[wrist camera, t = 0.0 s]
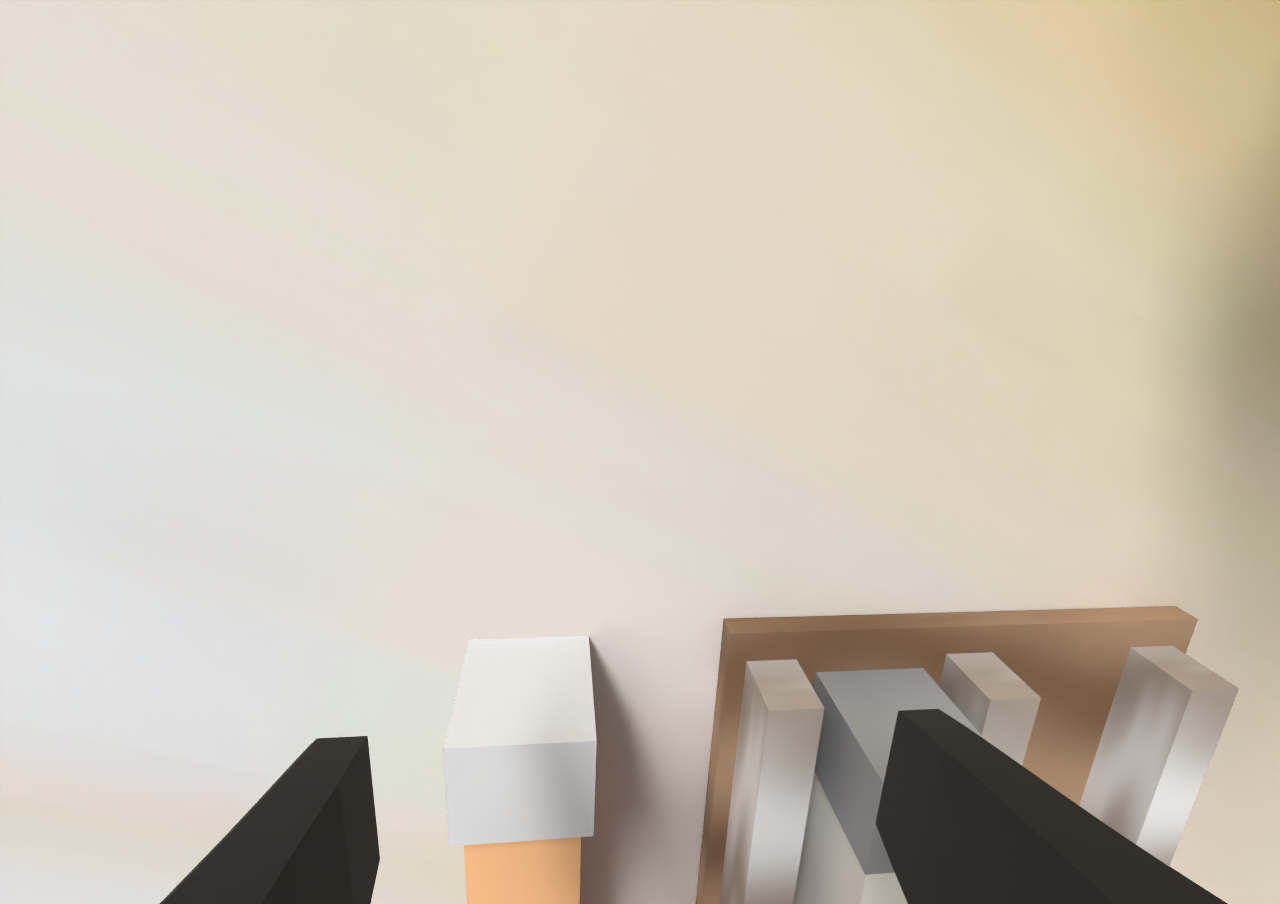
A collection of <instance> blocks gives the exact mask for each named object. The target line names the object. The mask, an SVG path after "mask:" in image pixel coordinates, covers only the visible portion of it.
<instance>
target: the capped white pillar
mask: <svg viewBox="0 0 1280 904" xmlns="http://www.w3.org/2000/svg"><path fill="white" fill-rule="evenodd" d="M814 691H815V692H816V694H817V696H818V698H819V699H820V701H821V703H822V705H823V706H824V714H823V720H822V727H821V733H820V739H819V745H818V752H817V758H816V764H815V770H814V777H813V783H812V789H811V795H810V802H809V808H808V814H807V820H806V826H805V833H804V839H803V845H802V851H801V858H800V864H799V870H798V876H797V883H796V889H795V895H794V901H793V904H908V903H907V901H906V898H905V896H904V894H903V891H902V889H901V886H900V884H899V882H898V879H897V877H896V874H895V872H894V870H893V867H892V865H891V862H890V860H889V857H888V854H887V852H886V849H885V847H884V844H883V841H882V839H881V836H880V834H879V831H878V829H877V826H876V818H877V813H878V808H879V803H880V798H881V793H882V788H883V783H884V778H885V774H886V769H887V764H888V759H889V754H890V749H891V744H892V739H893V734H894V729H895V724H896V719H897V714H898V711H901V710H921V709H940V710H941V711H943V712H944V713H946V714H948V715H949V716H951V717H952V718H954V719H955V720H957V721H958V722H960V723H961V724H963V725H964V726H966V727H967V728H969V729H970V730H972V731H973V732H975V733H976V734H978V735H979V736H981V737H982V735H981V734H980V733H979V732H978V731H977V730H976V728H975V727H974V726H973V725H972V724H971V723H970V722H969V720H968V719H967V718H966V717H965V716H964V715H963V713H962V712H961V711H960V710H959V709H958V708H957V707H956V705H955V704H954V703H953V702H952V701H951V700H950V698H949V697H948V696H947V695H946V694H945V693H944V692H943V690H942V689H941V688H940V687H939V686H938V685H937V683H936V682H935V681H934V680H933V679H932V678H931V676H930V675H929V674H928V673H927V672H926V671H925V670H924V668H911V669H886V670H860V671H834V672H816V676H815V682H814ZM982 738H983V737H982ZM983 739H984V738H983Z"/></svg>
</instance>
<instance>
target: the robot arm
mask: <svg viewBox="0 0 1280 904" xmlns="http://www.w3.org/2000/svg"><path fill="white" fill-rule="evenodd" d="M876 826H877V829H878V831H879V834H880V836H881V839H882V841H883V844H884V847H885V849H886V852H887V854H888V857H889V860H890V862H891V865H892V867H893V870H894V872H895V874H896V877H897V879H898V882H899V884H900V886H901V889H902V891H903V894H904V896H905V898H906V901H907V903H908V904H1227V903H1225V902H1224V901H1222V900H1221V899H1219V898H1218V897H1216V896H1215V895H1213V894H1211V893H1210V892H1208V891H1207V890H1205V889H1204V888H1202V887H1201V886H1199V885H1197V884H1196V883H1194V882H1193V881H1191V880H1190V879H1188V878H1186V877H1185V876H1183V875H1182V874H1180V873H1179V872H1177V871H1176V870H1174V869H1172V868H1171V867H1169V866H1168V865H1166V864H1165V863H1163V862H1162V861H1160V860H1158V859H1157V858H1155V857H1154V856H1152V855H1151V854H1149V853H1148V852H1146V851H1145V850H1143V849H1142V848H1141V847H1139V846H1138V845H1136V844H1135V843H1133V842H1132V841H1130V840H1129V839H1127V838H1126V837H1124V836H1123V835H1121V834H1120V833H1118V832H1117V831H1115V830H1114V829H1112V828H1111V827H1109V826H1108V825H1106V824H1105V823H1103V822H1102V821H1101V820H1099V819H1098V818H1096V817H1095V816H1093V815H1092V814H1090V813H1089V812H1088V811H1086V810H1085V809H1083V808H1082V807H1080V806H1079V805H1077V804H1076V803H1074V802H1073V801H1072V800H1070V799H1069V798H1067V797H1066V796H1064V795H1063V794H1062V793H1060V792H1059V791H1057V790H1056V789H1054V788H1053V787H1052V786H1050V785H1049V784H1047V783H1046V782H1045V781H1043V780H1042V779H1040V778H1039V777H1037V776H1036V775H1035V774H1033V773H1032V772H1030V771H1029V770H1028V769H1026V768H1025V767H1023V766H1022V765H1020V764H1019V763H1018V762H1016V761H1015V760H1013V759H1012V758H1011V757H1009V756H1008V755H1006V754H1005V753H1003V752H1002V751H1001V750H999V749H998V748H996V747H995V746H993V745H992V744H991V743H989V742H988V741H986V740H985V739H983V738H982V737H981V736H979V735H978V734H976V733H975V732H973V731H972V730H970V729H969V728H967V727H966V726H964V725H963V724H961V723H960V722H958V721H957V720H955V719H954V718H952V717H951V716H949V715H948V714H946V713H944V712H943V711H941V710H940V709H921V710H901V711H898V714H897V719H896V724H895V729H894V734H893V739H892V744H891V749H890V754H889V759H888V764H887V769H886V774H885V778H884V783H883V788H882V793H881V798H880V803H879V808H878V813H877V818H876ZM379 860H380V855H379V846H378V836H377V826H376V816H375V806H374V796H373V787H372V777H371V767H370V757H369V747H368V737H367V736H360V737H339V738H318V739H316V740H315V741H314V742H313V743H312V744H311V745H310V746H309V747H308V748H307V749H306V750H305V751H304V752H303V753H302V754H301V755H300V756H299V757H298V758H297V759H296V760H295V762H294V763H293V764H292V765H291V766H290V767H289V768H288V769H287V770H286V771H285V772H284V773H283V775H282V776H281V777H280V778H279V779H278V780H277V781H276V782H275V783H274V784H273V785H272V786H271V788H270V789H269V790H268V791H267V792H266V793H265V794H264V795H263V796H262V797H261V798H260V799H259V801H258V802H257V803H256V804H255V805H254V806H253V807H252V808H251V809H250V810H249V811H248V812H247V813H246V815H245V816H244V817H243V818H242V819H241V820H240V821H239V822H238V823H237V824H236V825H235V826H234V827H233V828H232V829H231V831H230V832H229V833H228V834H227V835H226V836H225V837H224V838H223V839H222V840H221V841H220V842H219V843H218V844H217V845H216V846H215V847H214V848H213V849H212V850H211V851H210V852H209V854H208V855H207V856H206V857H205V858H204V859H203V860H202V861H201V862H200V863H199V864H198V865H197V866H196V867H195V868H194V869H193V870H192V871H191V872H190V873H189V874H188V875H187V876H186V877H185V878H184V879H183V880H182V881H181V882H180V883H179V884H178V885H177V886H176V888H175V889H174V890H173V891H172V892H171V893H170V894H169V895H168V896H167V897H166V898H165V899H164V900H163V901H162V902H161V903H160V904H370V903H371V898H372V893H373V889H374V884H375V879H376V875H377V870H378V865H379Z"/></svg>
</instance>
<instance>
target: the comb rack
mask: <svg viewBox="0 0 1280 904" xmlns="http://www.w3.org/2000/svg"><path fill="white" fill-rule="evenodd" d="M1197 620H1198V619H1196V618H1194V617H1193V616H1191V615H1189V614H1188V613H1186V612H1184V611H1182V610H1181V609H1179V608H1177V607H1140V608H1103V609H1066V610H1030V611H993V612H957V613H920V614H883V615H847V616H810V617H773V618H737V619H724V622H723V632H722V642H721V653H720V663H719V673H718V683H717V693H716V704H715V714H714V724H713V734H712V744H711V755H710V765H709V775H708V785H707V795H706V806H705V816H704V826H703V836H702V846H701V857H700V867H699V877H698V887H697V897H696V904H793V901H794V895H795V889H796V883H797V876H798V870H799V864H800V858H801V851H802V845H803V839H804V833H805V826H806V820H807V814H808V808H809V802H810V795H811V789H812V783H813V777H814V770H815V764H816V758H817V752H818V745H819V739H820V733H821V727H822V720H823V714H824V706H823V705H822V703H821V701H820V699H819V698H818V696H817V694H816V692H815V691H814V682H815V676H816V672H834V671H860V670H886V669H911V668H924V670H925V671H926V672H927V673H928V674H929V675H930V676H931V678H932V679H933V680H934V681H935V682H936V683H937V685H938V686H939V687H940V688H941V689H942V690H943V692H944V693H945V694H946V695H947V696H948V697H949V698H950V700H951V701H952V702H953V703H954V704H955V705H956V707H957V708H958V709H959V710H960V711H961V712H962V713H963V715H964V716H965V717H966V718H967V719H968V720H969V722H970V723H971V724H972V725H973V726H974V727H975V728H976V730H977V731H978V732H979V733H980V734H981V735H982V737H983V738H984V739H985V740H986V741H988V742H989V743H991V744H992V745H993V746H995V747H996V748H998V749H999V750H1001V751H1002V752H1003V753H1005V754H1006V755H1008V756H1009V757H1011V758H1012V759H1013V760H1015V761H1016V762H1018V763H1019V764H1020V765H1022V766H1023V767H1025V768H1026V769H1028V770H1029V771H1030V772H1032V773H1033V774H1035V775H1036V776H1037V777H1039V778H1040V779H1042V780H1043V781H1045V782H1046V783H1047V784H1049V785H1050V786H1052V787H1053V788H1054V789H1056V790H1057V791H1059V792H1060V793H1062V794H1063V795H1064V796H1066V797H1067V798H1069V799H1070V800H1072V801H1073V802H1074V803H1076V804H1077V805H1079V806H1080V807H1082V808H1083V809H1085V810H1086V811H1088V812H1089V813H1090V814H1092V815H1093V816H1095V817H1096V818H1098V819H1099V820H1101V821H1102V822H1103V823H1105V824H1106V825H1108V826H1109V827H1111V828H1112V829H1114V830H1115V831H1117V832H1118V833H1120V834H1121V835H1123V836H1124V837H1126V838H1127V839H1129V840H1130V841H1132V842H1133V843H1135V844H1136V845H1138V846H1139V847H1141V848H1142V849H1143V850H1145V851H1146V852H1148V853H1149V854H1151V855H1152V856H1154V857H1155V858H1157V859H1158V860H1160V861H1162V862H1163V863H1165V864H1166V865H1168V866H1169V865H1170V863H1171V860H1172V858H1173V855H1174V853H1175V850H1176V847H1177V845H1178V842H1179V840H1180V837H1181V835H1182V832H1183V830H1184V827H1185V824H1186V822H1187V819H1188V817H1189V814H1190V812H1191V809H1192V807H1193V804H1194V802H1195V799H1196V796H1197V794H1198V791H1199V789H1200V786H1201V784H1202V781H1203V779H1204V776H1205V773H1206V771H1207V768H1208V766H1209V763H1210V761H1211V758H1212V756H1213V753H1214V750H1215V748H1216V745H1217V743H1218V740H1219V738H1220V735H1221V733H1222V730H1223V728H1224V725H1225V722H1226V720H1227V717H1228V715H1229V712H1230V710H1231V707H1232V705H1233V702H1234V699H1235V697H1236V694H1237V692H1238V689H1239V688H1237V687H1236V686H1234V685H1232V684H1231V683H1229V682H1228V681H1226V680H1225V679H1223V678H1222V677H1220V676H1219V675H1217V674H1216V673H1214V672H1212V671H1211V670H1209V669H1208V668H1206V667H1205V666H1203V665H1202V664H1200V663H1199V662H1197V661H1196V660H1194V659H1192V658H1191V657H1189V656H1188V655H1186V651H1187V648H1188V645H1189V642H1190V639H1191V637H1192V634H1193V631H1194V628H1195V625H1196V623H1197Z"/></svg>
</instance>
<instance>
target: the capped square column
mask: <svg viewBox="0 0 1280 904" xmlns="http://www.w3.org/2000/svg"><path fill="white" fill-rule="evenodd" d="M596 745H597V739H596V726H595V712H594V699H593V685H592V672H591V658H590V645H589V636H566V637H532V638H499V639H469V640H468V644H467V649H466V653H465V657H464V661H463V666H462V670H461V674H460V679H459V683H458V687H457V692H456V696H455V700H454V705H453V709H452V713H451V717H450V722H449V726H448V730H447V735H446V739H445V743H444V748H443V753H444V770H445V787H446V804H447V821H448V839H449V846H462V845H464V850H465V870H466V891H467V904H580V863H581V837H591V836H594V810H595V778H596Z"/></svg>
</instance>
